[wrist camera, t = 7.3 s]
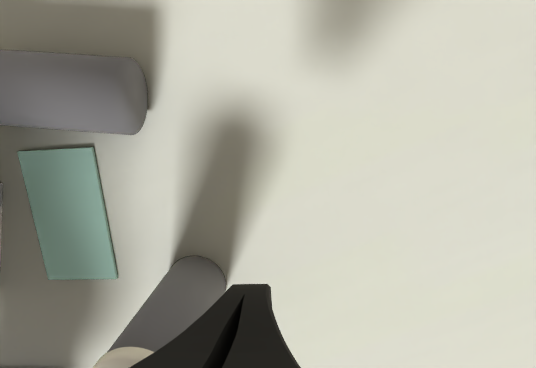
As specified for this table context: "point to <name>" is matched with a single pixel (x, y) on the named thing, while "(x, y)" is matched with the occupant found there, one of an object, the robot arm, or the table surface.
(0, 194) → the circuit breaker
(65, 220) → the pad
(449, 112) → the table surface
